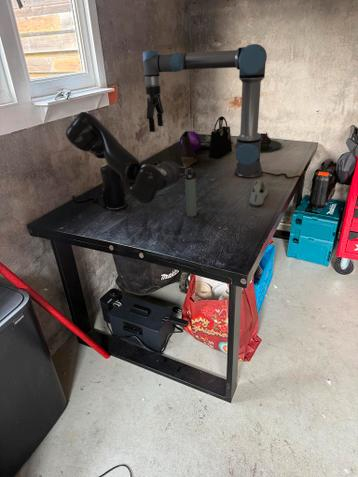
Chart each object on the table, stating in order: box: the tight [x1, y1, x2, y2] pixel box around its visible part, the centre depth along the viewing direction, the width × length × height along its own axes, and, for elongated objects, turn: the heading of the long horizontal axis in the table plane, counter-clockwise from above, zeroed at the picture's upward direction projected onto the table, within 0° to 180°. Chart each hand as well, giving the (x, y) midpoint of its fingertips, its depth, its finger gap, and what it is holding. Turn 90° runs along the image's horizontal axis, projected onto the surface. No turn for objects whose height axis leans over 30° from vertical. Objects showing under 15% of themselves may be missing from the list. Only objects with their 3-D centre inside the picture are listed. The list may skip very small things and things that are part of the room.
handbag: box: [208, 115, 233, 159], centre depth 220 cm, size 21×9×25 cm, turn 148°
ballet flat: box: [249, 179, 269, 207], centre depth 158 cm, size 8×24×8 cm, turn 163°
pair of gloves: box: [198, 134, 234, 150], centre depth 250 cm, size 30×26×5 cm
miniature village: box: [235, 132, 282, 154], centre depth 237 cm, size 32×35×9 cm
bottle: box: [184, 177, 198, 218], centre depth 143 cm, size 4×4×19 cm
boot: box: [180, 130, 198, 168], centre depth 209 cm, size 9×24×20 cm, turn 168°
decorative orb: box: [178, 130, 202, 153], centre depth 230 cm, size 15×15×15 cm
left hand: (180, 167), depth 119 cm, fingers open, 8 cm apart
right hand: (156, 128), depth 177 cm, fingers open, 13 cm apart
